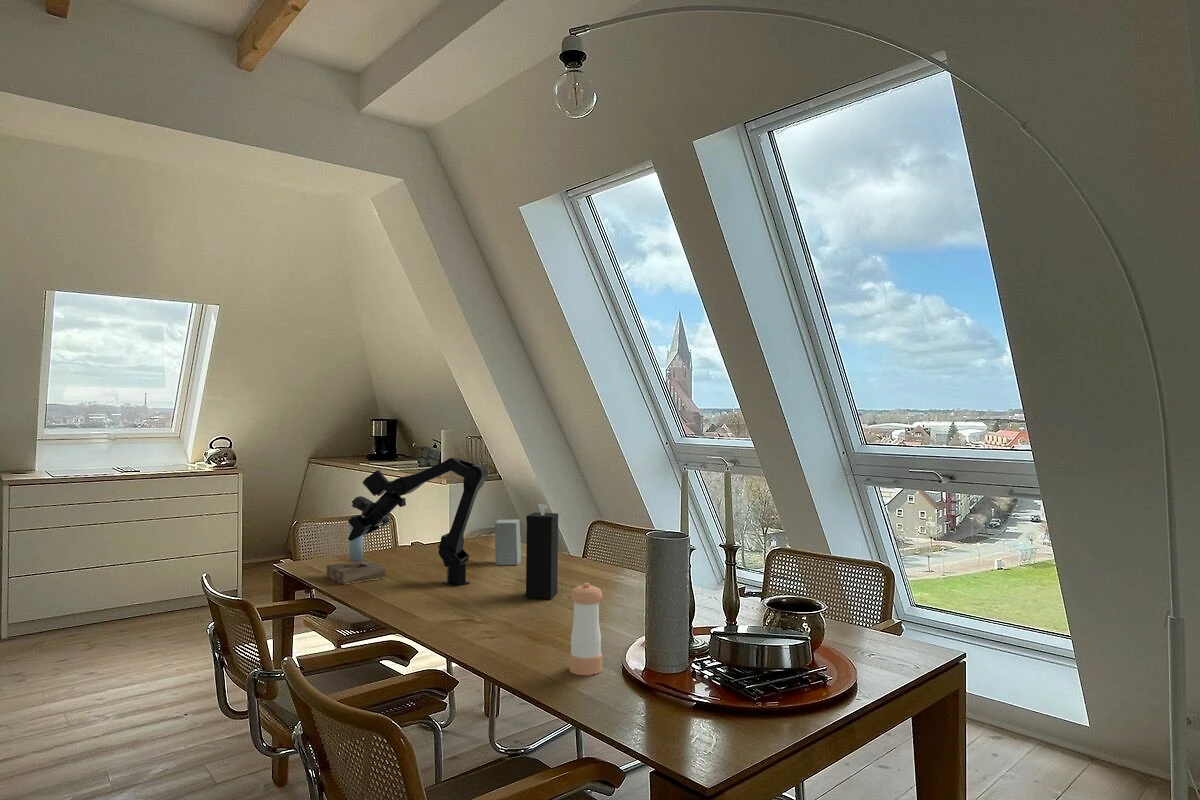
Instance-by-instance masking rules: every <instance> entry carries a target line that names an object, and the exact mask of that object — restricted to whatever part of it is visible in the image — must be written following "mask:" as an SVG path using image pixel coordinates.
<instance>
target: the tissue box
mask: <svg viewBox="0 0 1200 800" xmlns="http://www.w3.org/2000/svg"><path fill="white" fill-rule="evenodd" d="M537 504H538V509H539V512H533V513H530V514H527V515H526V549H525V550H526V551H525V552H526V558H525V560H526V563H525V564H526V566H525V568H526V570H525V598H528V599H539V600H552V599H553V598H554V597H556V595H557V594H558V571H559V569H558V565H559V564H558V563H559V561H558V560H559V559H558V557H559V556H558V554H559V553H558V552H559V513H558V512H556V513H555V512H546V511H547V509H548V507H549V505H547V504H543V503H542V504H541V503H537Z"/></svg>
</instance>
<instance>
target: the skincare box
mask: <svg viewBox="0 0 1200 800" xmlns="http://www.w3.org/2000/svg"><path fill="white" fill-rule="evenodd" d="M520 522H521V521H520V519H498V520H496V522H494V544H495V545H494V546H495V547H494V548H495V549H494V550H495V552H494V553H495V565H496V566H518V565H519V564H520V563H521V561H522V555H521V554H522V553H521V526H520V525H521V524H520Z"/></svg>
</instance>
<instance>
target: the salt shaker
mask: <svg viewBox="0 0 1200 800" xmlns="http://www.w3.org/2000/svg"><path fill="white" fill-rule="evenodd" d="M602 598H603V592H602V591H601V589H600V588H599V587H597V586H595V585H591V584H590V583H589V582H584V583H583V584H582V585H578V586H576V587H574V588H573V589H572V591H571V592H570V599H571V601H572V602H573V623H572V624H573V625H572V630H571V635H570V650H571V651H570V652H569V655H568V658H569V659H568V660H569V663H568V664H569V665H568V666H569V672H570V673H571V674H575V675H577V676H578V675H579V676H594V675H593V674H595V675H598V674H601V672H602V671H603V654H602V651H601V649H602V636H601V635H602V634H601V628H600V621H599V619H600V618H599V617H600V614H599V612H600V611H599V610H600V609H599V607H600V602H601V601H602ZM597 673H598V674H597Z"/></svg>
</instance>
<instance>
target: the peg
mask: <svg viewBox="0 0 1200 800" xmlns="http://www.w3.org/2000/svg"><path fill="white" fill-rule="evenodd" d="M348 524H349V525H348V526H349V529H348V530H349V532H348V533H349V535H350V534H351V532H352V530H353V527H352V526H351V525H350V523H349V522H348ZM349 535H348V536H349ZM348 542H349V543H348V544H349V545H348V546H349V549H348V550H349V552H348V553H349V554H348V558H349V559H348V560H349V562H357V561H363V560H364V536H363V535H362V536H360V537H358V538H356V539H354V540H351V541H349V540H348Z"/></svg>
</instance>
